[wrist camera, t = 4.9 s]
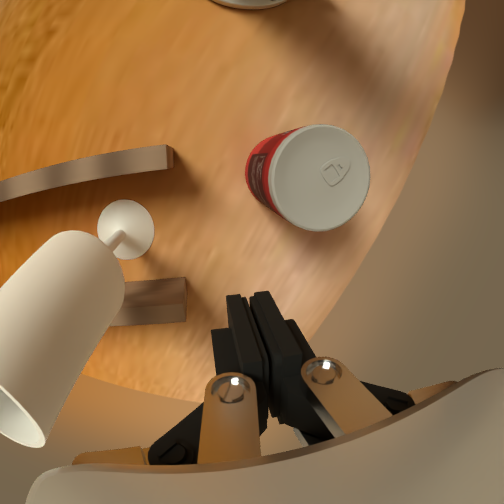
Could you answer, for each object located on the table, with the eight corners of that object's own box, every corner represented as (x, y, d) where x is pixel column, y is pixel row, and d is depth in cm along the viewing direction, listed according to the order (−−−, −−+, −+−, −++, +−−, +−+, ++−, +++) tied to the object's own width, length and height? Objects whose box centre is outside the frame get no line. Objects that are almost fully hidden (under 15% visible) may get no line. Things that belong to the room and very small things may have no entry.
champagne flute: (107, 265, 28) (2, 447, 5) (90, 208, 25) (-83, 331, 3) (161, 252, 28) (105, 469, 6) (146, 192, 26) (-16, 319, 4)
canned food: (326, 164, 29) (387, 171, 18) (284, 220, 30) (328, 253, 20) (274, 120, 26) (317, 100, 16) (228, 179, 27) (246, 190, 17)
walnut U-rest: (173, 148, 25) (165, 144, 20) (187, 292, 30) (185, 321, 25) (-51, 205, 19) (-75, 215, 13) (-27, 302, 24) (-46, 320, 19)
